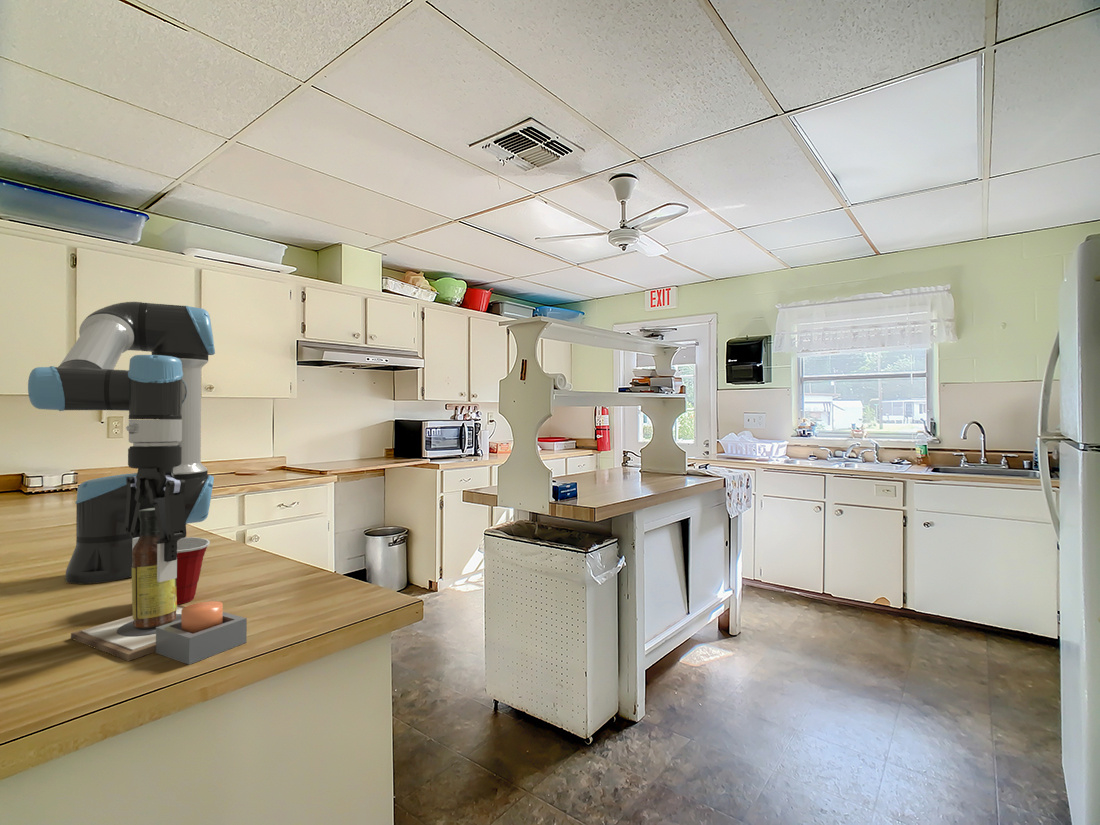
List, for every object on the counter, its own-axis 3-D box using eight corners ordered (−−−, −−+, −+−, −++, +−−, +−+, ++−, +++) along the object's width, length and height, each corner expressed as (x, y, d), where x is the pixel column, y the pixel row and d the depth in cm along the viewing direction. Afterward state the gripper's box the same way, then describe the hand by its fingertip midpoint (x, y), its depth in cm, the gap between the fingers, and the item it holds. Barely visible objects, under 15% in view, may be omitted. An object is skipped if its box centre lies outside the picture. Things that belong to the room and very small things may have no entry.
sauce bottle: (185, 619, 95) (186, 506, 96) (148, 632, 89) (150, 511, 90) (159, 615, 97) (160, 505, 98) (121, 628, 91) (123, 510, 92)
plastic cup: (177, 612, 102) (177, 549, 103) (130, 608, 105) (131, 546, 105) (222, 594, 113) (222, 537, 113) (179, 590, 115) (179, 534, 115)
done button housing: (155, 652, 85) (155, 627, 85) (213, 632, 93) (213, 609, 93) (189, 664, 81) (189, 638, 81) (246, 642, 89) (246, 618, 89)
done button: (173, 631, 86) (173, 609, 86) (209, 620, 91) (209, 599, 91) (194, 638, 83) (194, 615, 83) (230, 625, 88) (230, 604, 88)
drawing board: (70, 638, 90) (70, 631, 90) (173, 608, 104) (173, 602, 104) (128, 661, 82) (128, 652, 82) (231, 625, 96) (231, 617, 96)
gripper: (100, 443, 95) (98, 574, 94) (164, 447, 86) (163, 591, 85) (147, 442, 101) (146, 564, 101) (212, 444, 92) (211, 578, 92)
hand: (154, 576), depth 93 cm, fingers open, 7 cm apart
